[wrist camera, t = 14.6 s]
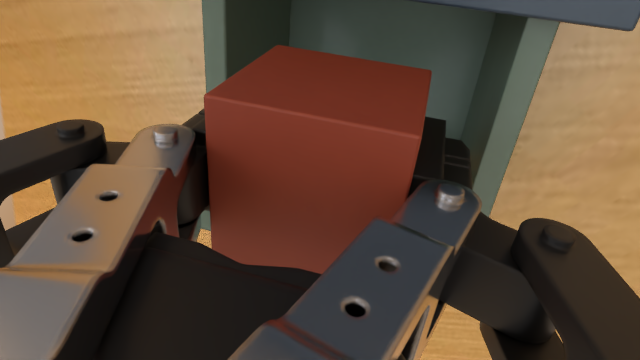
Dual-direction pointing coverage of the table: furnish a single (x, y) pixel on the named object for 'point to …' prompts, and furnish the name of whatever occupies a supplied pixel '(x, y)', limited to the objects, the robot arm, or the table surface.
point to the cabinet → (559, 10)
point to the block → (309, 153)
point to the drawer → (404, 60)
